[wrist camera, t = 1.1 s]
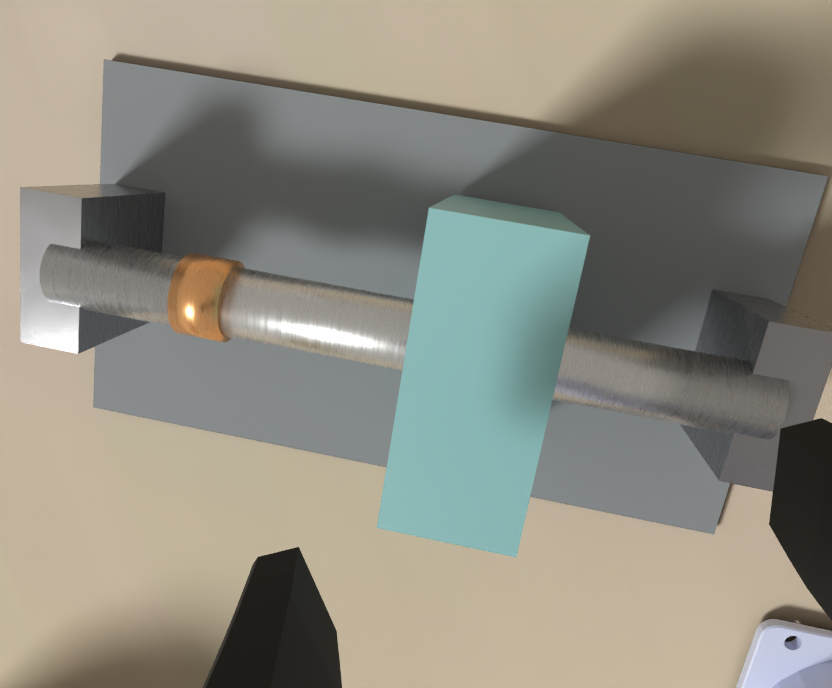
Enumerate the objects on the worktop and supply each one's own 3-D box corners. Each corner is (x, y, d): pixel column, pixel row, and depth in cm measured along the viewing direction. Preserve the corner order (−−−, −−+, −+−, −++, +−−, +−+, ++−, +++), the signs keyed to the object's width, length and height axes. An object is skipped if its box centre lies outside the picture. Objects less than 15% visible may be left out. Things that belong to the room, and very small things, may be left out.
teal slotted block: (559, 212, 19) (590, 235, 12) (511, 434, 21) (516, 557, 14) (454, 194, 19) (428, 207, 12) (416, 414, 21) (376, 527, 14)
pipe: (765, 297, 19) (855, 340, 14) (726, 425, 20) (797, 505, 15) (120, 183, 21) (4, 187, 16) (116, 307, 22) (5, 347, 17)
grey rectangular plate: (823, 175, 18) (828, 176, 18) (710, 529, 21) (714, 534, 21) (109, 60, 20) (103, 59, 20) (98, 404, 23) (93, 407, 22)
